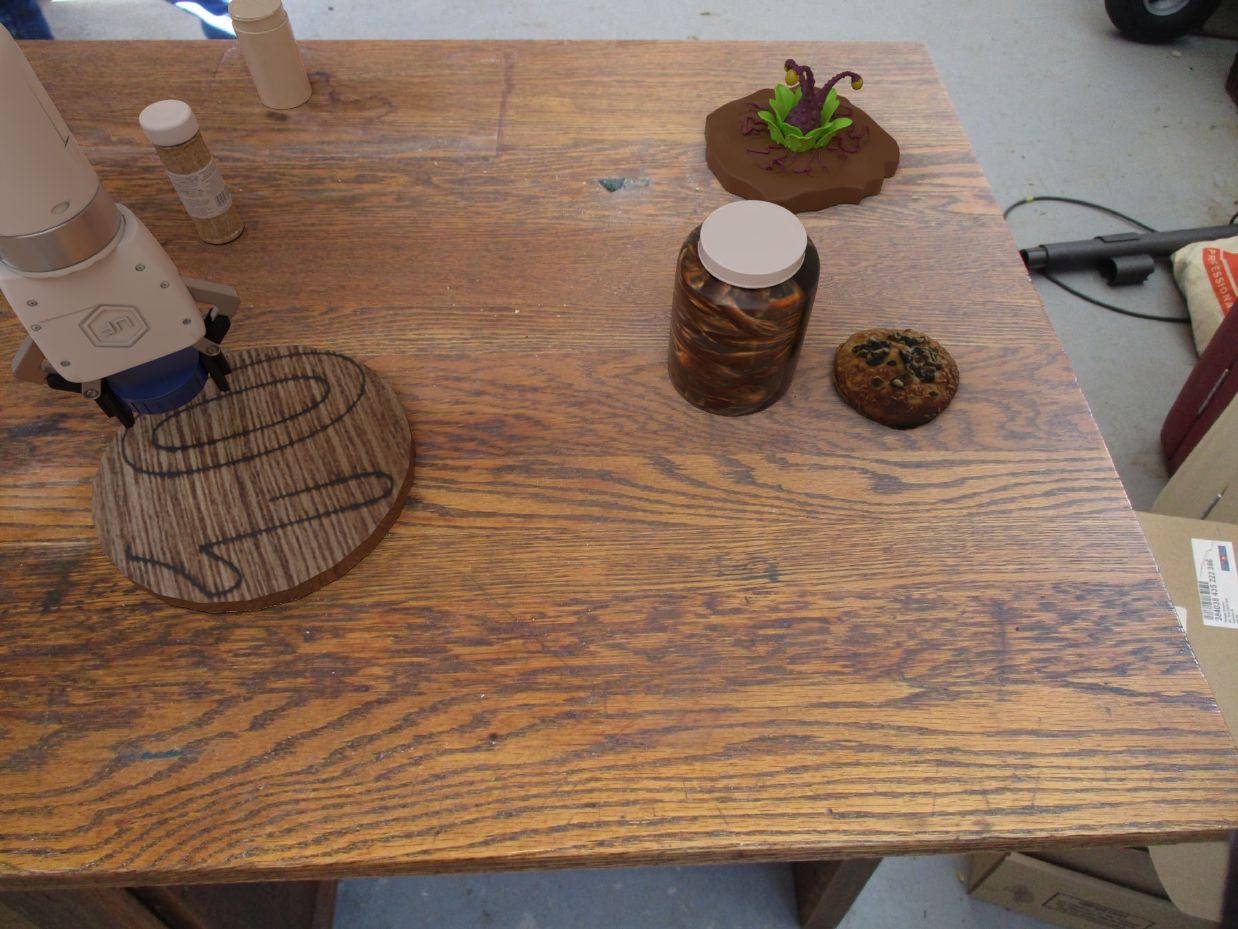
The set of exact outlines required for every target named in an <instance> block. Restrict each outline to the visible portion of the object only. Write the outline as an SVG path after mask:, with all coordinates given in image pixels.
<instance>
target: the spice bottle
mask: <svg viewBox="0 0 1238 929" xmlns="http://www.w3.org/2000/svg"><path fill="white" fill-rule="evenodd" d="M138 123H139V125H140V128H141V129H142V131H143V133H144V136H145V138H146V139H147V140H148V142H150V143H151V145H152V146H153V148H154V149H155V152H156V153H157V155H158V157H159V160H160V161H161V163H162V165H163V167H164V171H165V173H166V174H167V176H168V178H169V181H170V182H171V184H172V186H173V188H174V189H175V192H176V194H177V195H178V198H179V199H180V201H181V204H182V205H183V207H184V209H185V210H186V212H187V214H188V215H189V216H190V219H191V220H192V222H193V225H194V226H195V228H196V230H197V234H198V236H199V238H200V239H201V240H202V241H203V242H205V243H208V244H213V245H223V244H226V243H229V242H232V241H234V240H236V239H237V238H238V237H239V236H240V235H241V234H242V232H243V230H244V228H245V226H244V224H245V223H244V220H243V218H242V217H241V216H240V215H239V212H238V211H237V209H236V206H235V204H234V202H233V197H232V195H231V193H230V191H229V189H228V186H227V184H226V182H225V179H224V178H223V176H222V174H221V172H220V169H219V167H218V165H217V163H216V161H215V159H214V156H213V154H212V153H211V152H210V149H209V148H208V146H207V144H206V141H205V140H204V139H205V138H204V137H203V135H202V133H201V128H200V126H199V122H198V120H197V118H196V116H195V114H194V112H193V110H192V108H191V107H190V105H189V104H188V103H186V102H184V101H183V100H179V99H164V100H163V99H162V100H159V101H156V102H153V103H150V104H149V105H148V106H146V107H145V108H144V109H143V110H142V111H140V113H139V116H138Z"/></svg>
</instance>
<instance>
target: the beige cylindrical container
mask: <svg viewBox="0 0 1238 929" xmlns="http://www.w3.org/2000/svg"><path fill="white" fill-rule="evenodd" d="M227 13H228V16H229V17H230V19H231V26H232V30H233V31H234V34H235V37H236V39H237V42H238V45H239V47H240V49H241V53H242V55H243V58H244V60H245V63H246V65H247V68H248V71H249V73H250V76H251V78H252V81H253V83H254V86H255V89H256V92H257V94H258V97H259V99H260V102H261V103H262V104H263V105H264V106H265V107H267V108H269V109H272V110H289V109H294V108H297V107H300V106H302V105H304V104H305V103H306V102H307V101H309V100H310V98H311V97H312V95H313V89H312V85H311V82H310V80H309V76H308V72H307V70H306V67H305V64H304V61H303V57H302V55H301V52H300V48H299V45H298V42H297V39H296V36H295V33H294V29H293V27H292V24H291V23H292V22H291V21H290V18H289V14H288V13H287V11H286V10H285V8H284V4H283V2H282V0H230V2H229V3H228V5H227Z"/></svg>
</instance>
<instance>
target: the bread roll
mask: <svg viewBox="0 0 1238 929" xmlns="http://www.w3.org/2000/svg"><path fill="white" fill-rule="evenodd" d="M832 367H833V369H832V374H831V378H832V381H833V383H834V385H835V389H836V392H838V394H839V396H841V398H842V399H843V401H844V402H845V403H846V404H848V405H849V406H851V407H852V408H853V409H854V410H856V411H857V413H859V414H861V415H863V416H864V417H866V418H868V419H870V420H871V421H874V422H877V423H879V424H881V425H883V426H886V427H887V428H891V429H892V430H898V431H901V430H902V431H906V430H914V429H917V428H919V427H921V426H924V425H927V424H929V423H930V422H932V421H933V420H935V419H937V417H939V416H940V415H941V414H942V413H943V412H944V411H945V410H946V409H947V408H948V406H949V405H950V404H951V403H952V401H953V400H954V398H955V396H956V394H957V391H958V389H959V385H960V379H961V377H960V371H959V366H958V364H957V362H956V360H955V358H953V357H952V355H951V353H950V352H949V351H948V350H947V349H946V348H945V347H944V346H942V345H941V344H940V343H939V341H937V340H935V339H933V338H932V337H931V336H929V335H927V334H926V333H924V332H919V331H917V330H914V329H912V328H909V327H908V328H906V329H898V328H886V327H875V328H871V329H866V330H863V331H858V332H855V333H852V335H851V336H849V337H848V338H847V339H846V341H845V342H844V341H843V342H841V343H840V345H839V346H838V347H837V352H836V354H835V357H834V359H833V361H832Z"/></svg>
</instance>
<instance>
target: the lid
mask: <svg viewBox="0 0 1238 929" xmlns="http://www.w3.org/2000/svg"><path fill="white" fill-rule="evenodd" d="M208 374H209V373H208V371H207V369H206V368H205V366H204V365H203V363H202V360H201V358H200V353H199V351H198V350H196V349H195V348H193V347H191V346H189V347H187V348H185V349H182V350H179V351H177V352H174V353H171V354H168V355H166V356H163V357H160V358H157V359H155V360H152V361H149V362H146V363H143V364H141V365H138V366H135V367H132V368H129V369H127V370H124V371H121V372H118V373H115V374H112V375H109V376H107V383H108V386H109V388H110V389H111V390H112V392H113V393H114V396H115V397H116V398H117V400H118V401H119V402H120V403H121V405H122V406H123V405H124V406H125V407H126V408H127V409H128V410H129V411H130V410H131V411H132V413H133V412H135V413H138V414H145V415H155V414H163V413H167V412H170V411H173V410H176V409H178V408H180V407H182V406H184V405H185V404H187V403H188V402H190V401H191V400H193V399H194V398H195V397H196V396H197V395H198V394H199V393H200V392H201V390H202V389H203V388H204V386H205V384H206V382H207V379H208Z"/></svg>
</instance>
